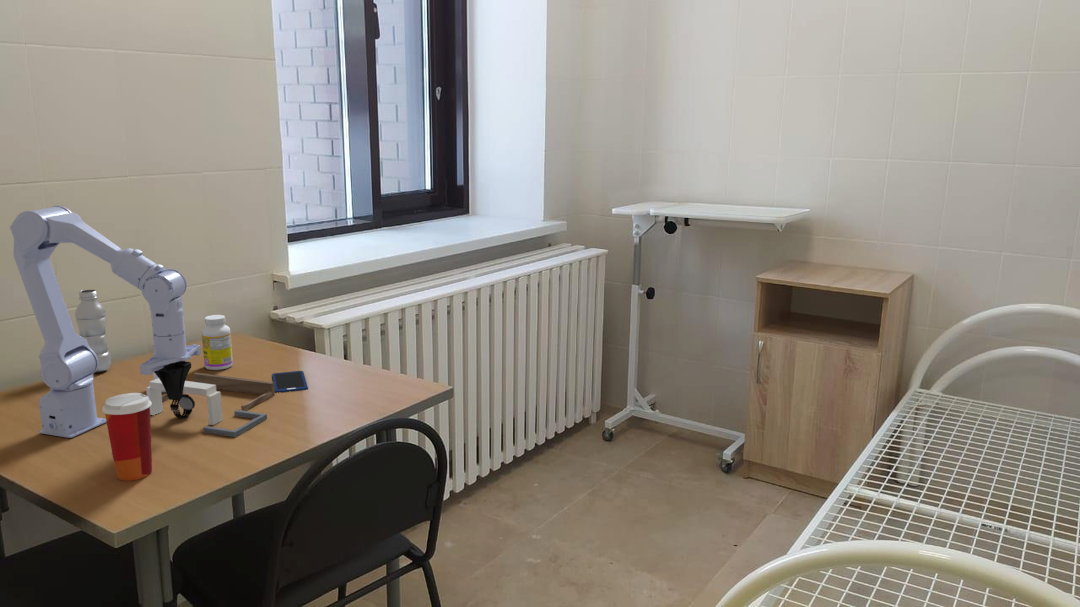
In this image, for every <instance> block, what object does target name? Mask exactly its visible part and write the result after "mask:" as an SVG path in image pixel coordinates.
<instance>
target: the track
mask: <svg viewBox="0 0 1080 607" xmlns="http://www.w3.org/2000/svg"><path fill="white" fill-rule="evenodd" d="M192 382H198V383H206V384H213V385H216V390H220V389H222V390H221V391H227V390H228V392H236V393H242V394H243V393H244V394H250V395H258V396H257V397H256V398H254V399H252V400H250V401H248V402H246V403H245V404H242V405H241V406H240V408H241V409H240V410H241V411H248V410H250V409H252V408H254V407H255V406H257V405H259V404H261V403H263V402H265V401H267V400H268V399H271V398H272V397H274V396H275V393H276V392H275V389H274V382H273V381H265V380H256V379H249V378H242V377H232V376H226V375H219V374H212V373H211V374H210V373H203V372H194V373H193V381H192ZM167 399H168V400H169V398H168V396H167V393H166V392H165V393H164V394H162V401H163V402H165V400H166V401H168V400H167Z"/></svg>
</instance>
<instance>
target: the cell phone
mask: <svg viewBox="0 0 1080 607" xmlns="http://www.w3.org/2000/svg"><path fill="white" fill-rule="evenodd" d="M271 378H272V382H274V392H275V393H276V394H280V393H279V392H281V393H290V392H289V391H291V392H301V391H307V390H308V389H309V386H308V383H307V380H306V376H305V374H304V371H303V370H295V371H294V370H293V371H284V372H274V373H272V374H271ZM277 392H278V393H277Z"/></svg>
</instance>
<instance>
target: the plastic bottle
mask: <svg viewBox="0 0 1080 607" xmlns="http://www.w3.org/2000/svg"><path fill="white" fill-rule="evenodd" d="M78 295H79V297H78V298H79V300H80V302H79V304H78V305H77V307H76V308H75V312H74V317H75V321H76V324H77V327H78V333H79V334H78V335H79V336H81V337H83V338H85V339H86V340H87V342H88V345H89V347H90V348H91V349H92V350H93V351H94V352H95V354H96V355H97V357H98V361H99V365H98V369H97V370H96V372H95V373H100V372H104V371H107V370H109V368H110V366H111V364H112V358H111V354H110V351H109V348H108V343H107V335H106V325H107V324H106V322H107V320H106V319H107V311H106V308H105V306H103V304H102V303H101V302H100V301H98V298H99V295H98V292H97V290H96V289H83V290H80V291H79V292H78Z"/></svg>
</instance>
